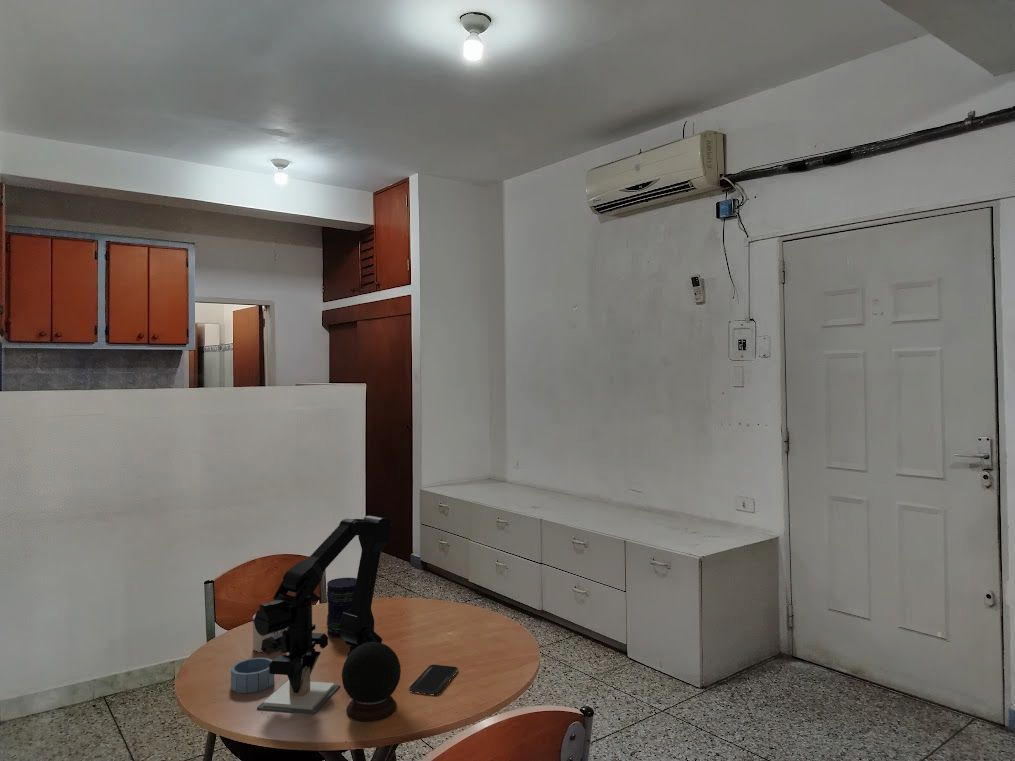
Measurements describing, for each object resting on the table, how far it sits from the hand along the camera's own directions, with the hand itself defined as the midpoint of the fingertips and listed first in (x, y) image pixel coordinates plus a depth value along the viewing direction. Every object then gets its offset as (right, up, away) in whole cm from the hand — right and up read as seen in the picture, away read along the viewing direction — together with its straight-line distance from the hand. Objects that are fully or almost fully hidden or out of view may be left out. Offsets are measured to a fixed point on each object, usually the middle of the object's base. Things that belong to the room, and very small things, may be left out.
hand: (299, 689), depth 162 cm
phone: (+31, -3, +9) cm, 32 cm away
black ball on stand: (+18, -2, -6) cm, 19 cm away
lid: (0, -2, 0) cm, 2 cm away
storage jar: (0, -2, +43) cm, 43 cm away
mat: (0, -2, 0) cm, 2 cm away
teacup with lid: (-18, -3, +32) cm, 37 cm away
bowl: (-14, -2, +7) cm, 16 cm away
